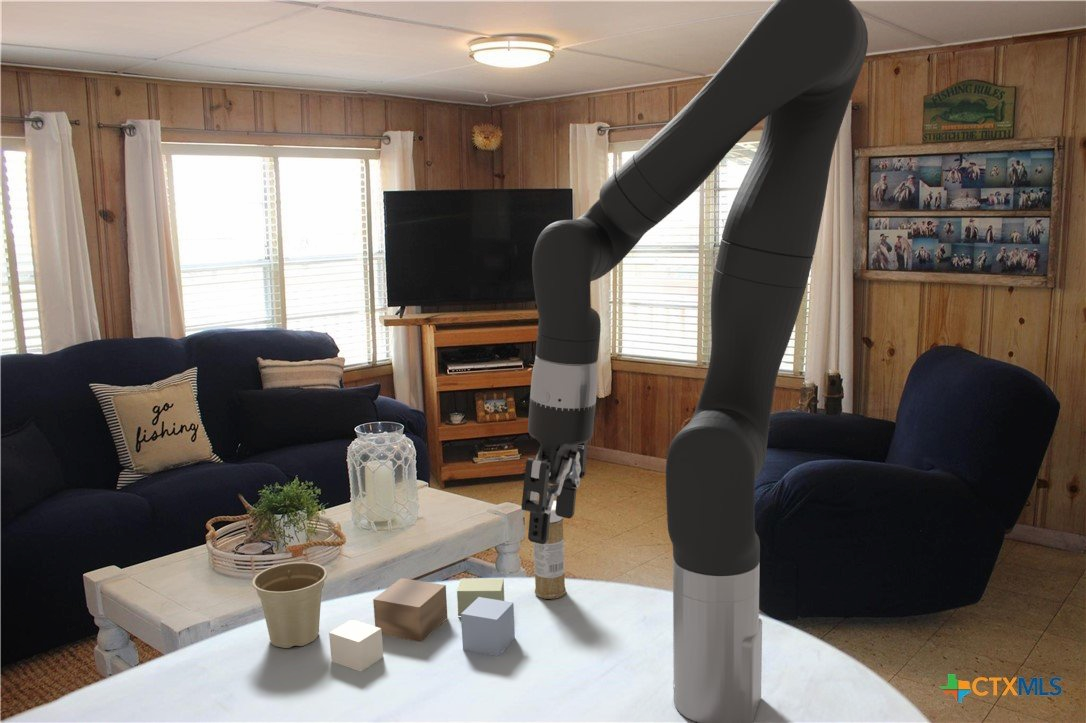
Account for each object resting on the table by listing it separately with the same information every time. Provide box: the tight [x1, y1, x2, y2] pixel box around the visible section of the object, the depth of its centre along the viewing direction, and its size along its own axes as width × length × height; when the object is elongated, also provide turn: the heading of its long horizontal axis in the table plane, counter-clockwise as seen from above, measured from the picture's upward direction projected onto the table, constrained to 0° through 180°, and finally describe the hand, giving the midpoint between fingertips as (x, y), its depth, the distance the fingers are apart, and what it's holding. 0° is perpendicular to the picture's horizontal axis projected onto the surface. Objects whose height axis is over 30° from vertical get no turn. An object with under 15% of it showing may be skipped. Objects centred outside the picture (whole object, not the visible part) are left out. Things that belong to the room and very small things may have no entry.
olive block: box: [456, 577, 505, 616], centre depth 124 cm, size 6×4×4 cm, turn 87°
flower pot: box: [252, 561, 328, 649], centre depth 118 cm, size 9×9×9 cm
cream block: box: [328, 619, 384, 672], centre depth 112 cm, size 5×4×4 cm
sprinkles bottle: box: [532, 500, 567, 600], centre depth 128 cm, size 5×5×13 cm
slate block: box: [460, 597, 516, 657], centre depth 115 cm, size 5×5×5 cm
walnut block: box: [372, 577, 449, 643], centre depth 120 cm, size 7×7×5 cm
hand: (551, 528), depth 106 cm, fingers open, 8 cm apart
